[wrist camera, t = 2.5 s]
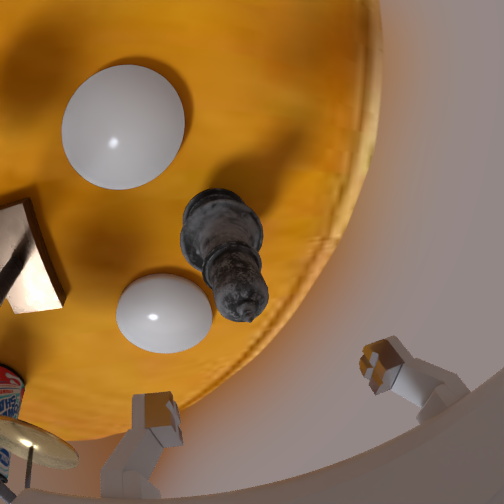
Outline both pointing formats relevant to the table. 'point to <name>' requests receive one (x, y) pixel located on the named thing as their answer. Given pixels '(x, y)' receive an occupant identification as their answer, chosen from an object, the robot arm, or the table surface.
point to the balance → (22, 301)
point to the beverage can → (9, 408)
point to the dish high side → (164, 313)
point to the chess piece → (226, 252)
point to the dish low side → (123, 127)
